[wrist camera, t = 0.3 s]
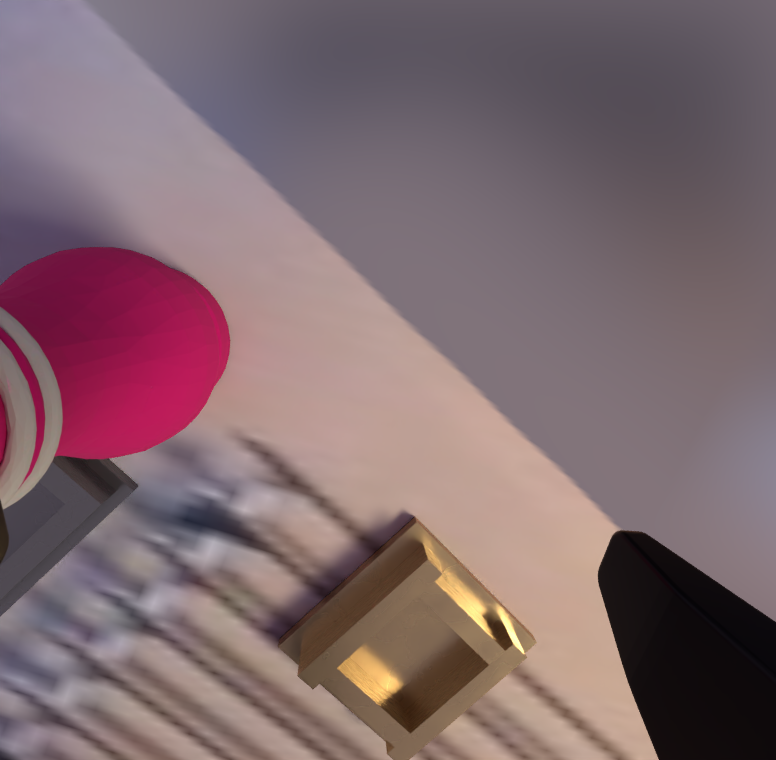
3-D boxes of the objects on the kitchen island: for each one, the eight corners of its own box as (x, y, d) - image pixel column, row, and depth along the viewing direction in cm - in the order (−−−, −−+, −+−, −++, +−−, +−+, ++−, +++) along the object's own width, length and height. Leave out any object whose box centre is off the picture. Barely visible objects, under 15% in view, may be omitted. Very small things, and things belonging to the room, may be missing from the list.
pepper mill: (39, 361, 22) (-2141, 913, 3) (124, 218, 22) (-2141, -412, 2) (187, 449, 24) (-635, 1283, 4) (274, 317, 23) (-225, 538, 3)
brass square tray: (402, 747, 27) (407, 785, 25) (279, 638, 25) (273, 669, 23) (532, 635, 27) (548, 663, 25) (415, 516, 25) (421, 537, 23)
